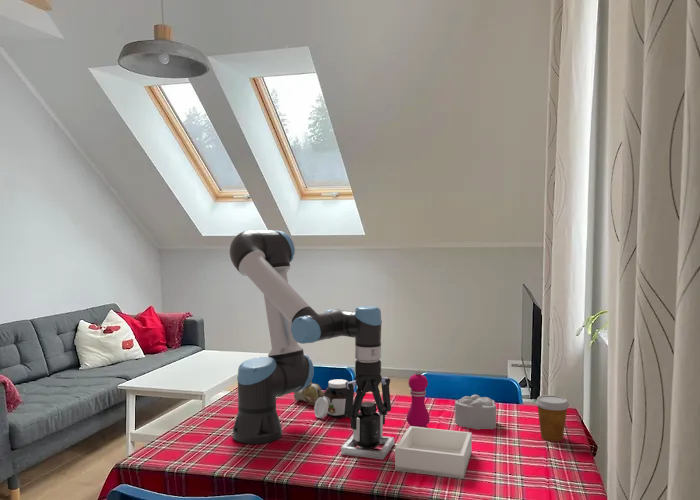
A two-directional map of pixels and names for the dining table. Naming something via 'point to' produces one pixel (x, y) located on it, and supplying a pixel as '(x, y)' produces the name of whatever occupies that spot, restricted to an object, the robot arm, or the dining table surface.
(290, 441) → the dining table surface
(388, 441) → the socket collar
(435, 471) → the bin
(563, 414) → the disposable coffee cup
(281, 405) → the dining table surface
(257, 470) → the dining table surface
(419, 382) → the pepper mill
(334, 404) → the spread jar
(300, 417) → the dining table surface
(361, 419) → the supplement bottle
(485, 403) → the box of round lumps
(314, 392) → the ceramic sculpture
